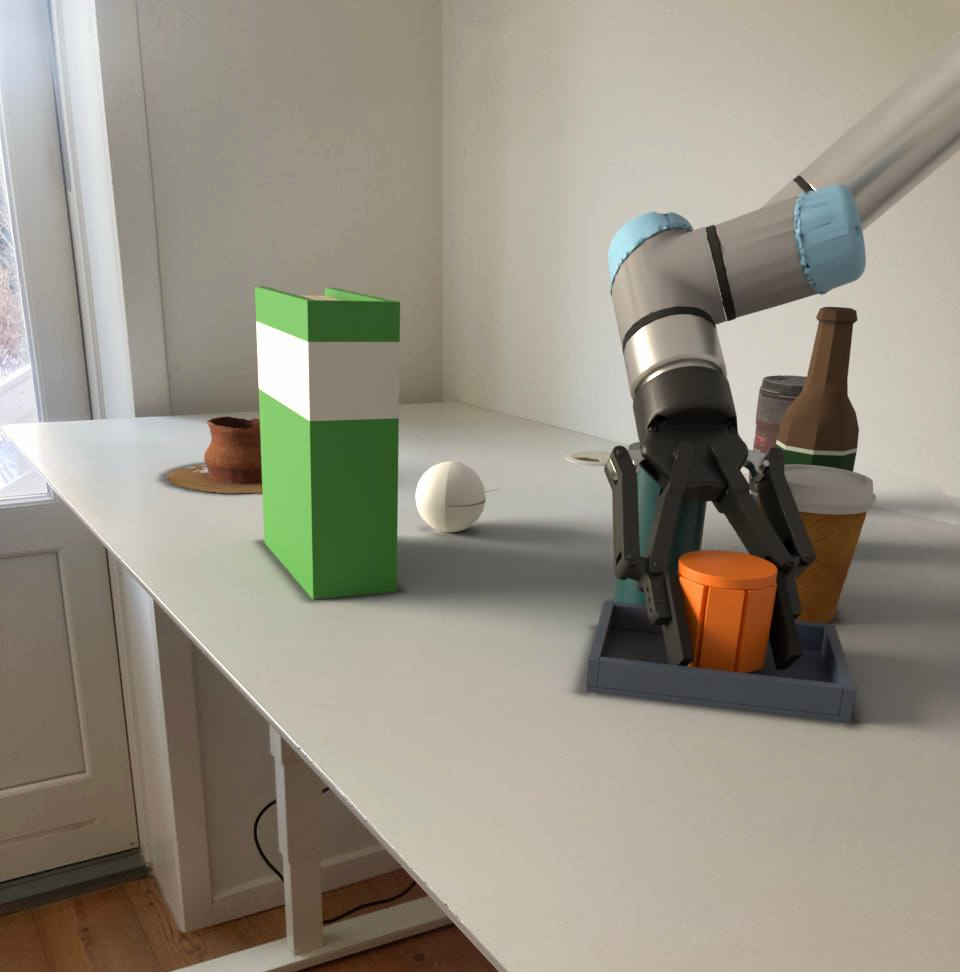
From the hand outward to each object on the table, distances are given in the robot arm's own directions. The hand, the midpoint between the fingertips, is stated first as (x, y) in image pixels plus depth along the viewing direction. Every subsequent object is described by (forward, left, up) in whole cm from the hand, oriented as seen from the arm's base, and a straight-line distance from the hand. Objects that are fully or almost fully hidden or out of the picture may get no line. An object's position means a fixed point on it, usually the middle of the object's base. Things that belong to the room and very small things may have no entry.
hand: (736, 663), depth 71 cm
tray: (+1, -3, -2) cm, 4 cm away
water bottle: (+6, -15, -2) cm, 16 cm away
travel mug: (-7, -59, -2) cm, 59 cm away
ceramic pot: (+58, -49, -2) cm, 76 cm away
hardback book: (+36, -18, -2) cm, 41 cm away
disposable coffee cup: (-6, -19, -2) cm, 20 cm away
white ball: (+27, -35, -2) cm, 44 cm away
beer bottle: (-8, -40, -2) cm, 41 cm away
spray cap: (+1, -3, -1) cm, 4 cm away
